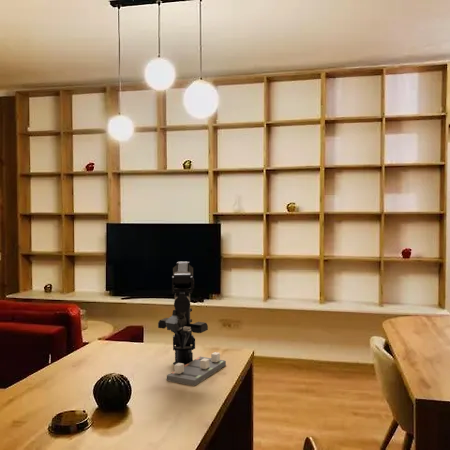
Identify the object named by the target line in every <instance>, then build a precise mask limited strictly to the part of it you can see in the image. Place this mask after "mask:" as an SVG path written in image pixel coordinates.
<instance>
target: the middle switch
mask: <svg viewBox="0 0 450 450" xmlns="http://www.w3.org/2000/svg"><path fill="white" fill-rule="evenodd" d="M206 358H207V357H206ZM206 358H204V359H202V360H200V368H203V369H207V368H208V367H209V359H206Z"/></svg>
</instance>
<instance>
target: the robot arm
mask: <svg viewBox="0 0 450 450" xmlns="http://www.w3.org/2000/svg"><path fill="white" fill-rule="evenodd" d="M193 291H195V279H194V267H193V266H192V265H190V261H177V262H176V265H175V266H174V267H172V276H171V294H174V302H173V307H174V309H173V310H172V314H171V316H169V317H164V318H162V319H160V320H158V322H157V328H158V329H167V331H170V332H172V333H173V334H174V335H173V336H172V350H173V351H174V362H172V365H175V364H177V363H183V364H184V365H186V364H188V363H189V362H191V361H193V360H194V353H193V351H194V350H195V349H196V338H195V336H194V333H195V334H202V333H205V332H207V331H209V330H208V329H209V327H208V326H209V325H208V323H207V322H205V321H195V322H194V323H192V322H193V319H192V318H191V312H192V311H193V308H191V294H193V293H194V292H193ZM192 333H193V334H192Z"/></svg>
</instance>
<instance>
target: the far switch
mask: <svg viewBox="0 0 450 450" xmlns="http://www.w3.org/2000/svg"><path fill="white" fill-rule="evenodd" d="M210 358H211V361H212V362H218V361H219V360H221V352H218V351H217V352H216V351H214V352H212V353H211V356H210Z"/></svg>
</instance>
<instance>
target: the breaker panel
mask: <svg viewBox="0 0 450 450" xmlns="http://www.w3.org/2000/svg"><path fill="white" fill-rule="evenodd" d="M204 358H206V359H209V367H208V368H207V369H203V368H200V360H202V359H204ZM226 363H227V362H226V360H223V359H220V360H219V361H218V362H212V361H211V357H204V356H198V357H197V358H195V359H193V361H191V362H189V363H188V364H186V365H184V372H182V373H180V374H178V373H174V371H171V372H170V373H168V374H166V381H167V382H171V383H177V384H183V385H187V386H193V387H196V386H197V385H198V384H200V383H201V382H202V381H204V380H206V379H208V378H209V377H211V376H212V375H214V374H215V373H216V372H217V373H218V371H219V370H221V369H222V368H224V367H226V365H227V364H226Z"/></svg>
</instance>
